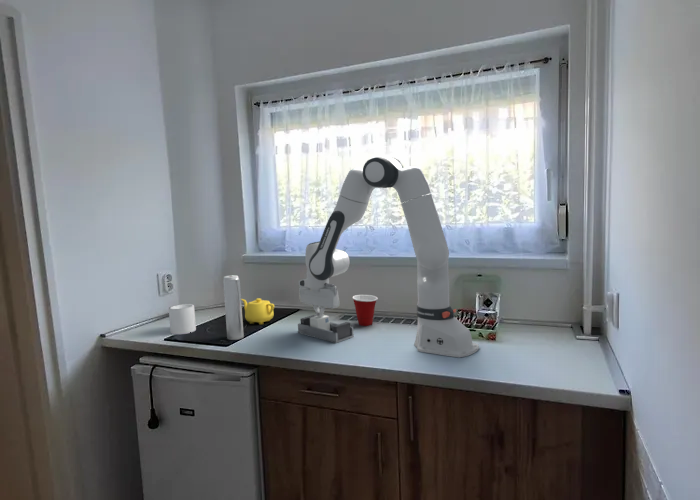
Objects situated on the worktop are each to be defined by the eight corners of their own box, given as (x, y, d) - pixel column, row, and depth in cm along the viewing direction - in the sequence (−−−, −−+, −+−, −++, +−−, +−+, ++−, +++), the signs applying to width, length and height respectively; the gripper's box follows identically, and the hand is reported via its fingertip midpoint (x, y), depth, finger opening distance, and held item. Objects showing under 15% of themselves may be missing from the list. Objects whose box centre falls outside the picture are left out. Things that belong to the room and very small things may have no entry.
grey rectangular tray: (353, 336, 170) (353, 322, 169) (336, 343, 163) (335, 327, 162) (315, 327, 185) (315, 314, 184) (298, 333, 178) (297, 319, 177)
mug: (165, 329, 192) (163, 305, 191) (188, 324, 198) (186, 301, 197) (175, 335, 181) (173, 310, 180) (199, 330, 188) (197, 306, 187)
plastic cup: (374, 328, 180) (373, 299, 179) (349, 327, 184) (348, 298, 182) (381, 321, 190) (380, 294, 189) (358, 320, 194) (357, 293, 192)
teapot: (234, 323, 197) (233, 300, 196) (250, 317, 207) (248, 295, 206) (268, 326, 190) (266, 302, 189) (282, 320, 200) (280, 297, 199)
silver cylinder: (239, 340, 171) (235, 277, 169) (224, 339, 173) (219, 277, 170) (246, 335, 178) (242, 274, 175) (231, 335, 179) (227, 274, 177)
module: (330, 330, 176) (329, 316, 176) (318, 334, 172) (317, 319, 171) (322, 328, 180) (321, 314, 179) (310, 332, 175) (309, 317, 174)
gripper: (342, 283, 169) (343, 318, 170) (307, 278, 183) (309, 311, 184) (330, 285, 164) (332, 321, 166) (295, 281, 178) (297, 314, 180)
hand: (319, 316), depth 175 cm, fingers closed
